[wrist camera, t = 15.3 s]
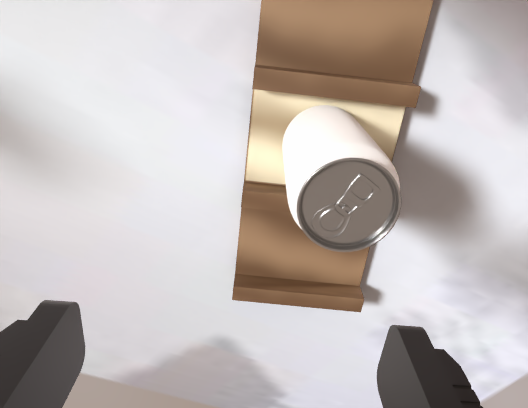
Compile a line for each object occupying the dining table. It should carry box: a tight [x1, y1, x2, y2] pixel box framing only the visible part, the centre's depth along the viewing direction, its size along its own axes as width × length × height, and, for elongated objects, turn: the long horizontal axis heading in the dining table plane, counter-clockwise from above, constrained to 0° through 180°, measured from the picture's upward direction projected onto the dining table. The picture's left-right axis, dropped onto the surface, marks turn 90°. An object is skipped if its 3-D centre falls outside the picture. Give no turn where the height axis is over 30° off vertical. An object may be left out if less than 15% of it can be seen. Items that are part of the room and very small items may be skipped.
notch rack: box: [232, 0, 433, 312], centre depth 32 cm, size 30×12×3 cm, turn 174°
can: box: [282, 105, 401, 252], centre depth 27 cm, size 6×6×12 cm
